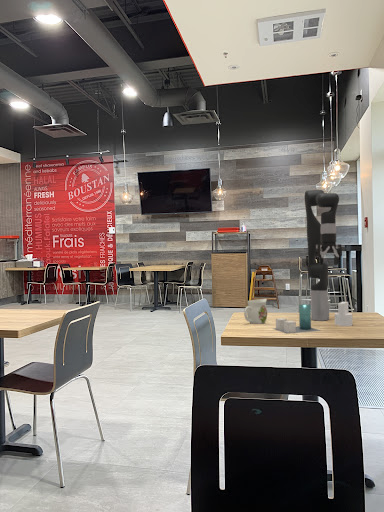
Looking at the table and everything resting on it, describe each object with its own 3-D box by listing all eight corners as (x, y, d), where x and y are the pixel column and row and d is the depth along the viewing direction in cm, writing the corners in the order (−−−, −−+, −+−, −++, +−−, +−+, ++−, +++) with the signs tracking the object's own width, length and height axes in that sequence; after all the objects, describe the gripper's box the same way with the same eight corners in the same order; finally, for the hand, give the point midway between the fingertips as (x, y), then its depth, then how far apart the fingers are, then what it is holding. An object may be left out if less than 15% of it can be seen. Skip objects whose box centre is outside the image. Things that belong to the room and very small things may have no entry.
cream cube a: (291, 330, 208) (291, 320, 208) (295, 332, 204) (295, 321, 204) (284, 331, 206) (283, 321, 206) (288, 332, 203) (288, 322, 202)
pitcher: (237, 326, 231) (237, 301, 231) (259, 322, 243) (258, 298, 242) (252, 328, 223) (252, 302, 222) (274, 324, 234) (274, 299, 234)
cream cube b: (282, 328, 215) (282, 318, 215) (287, 329, 211) (286, 319, 211) (275, 328, 214) (275, 318, 214) (279, 330, 210) (279, 319, 210)
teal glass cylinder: (306, 327, 216) (306, 303, 216) (313, 329, 211) (312, 304, 211) (297, 328, 214) (296, 304, 214) (303, 329, 209) (303, 305, 209)
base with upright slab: (337, 322, 236) (337, 301, 236) (354, 324, 231) (354, 302, 231) (332, 325, 229) (332, 303, 229) (349, 326, 224) (349, 304, 224)
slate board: (304, 328, 220) (304, 325, 220) (321, 333, 207) (321, 330, 207) (272, 331, 214) (272, 328, 214) (286, 336, 201) (286, 333, 201)
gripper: (335, 233, 220) (335, 264, 220) (311, 233, 215) (312, 265, 215) (345, 232, 212) (345, 264, 213) (320, 232, 208) (321, 265, 208)
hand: (328, 265), depth 214 cm, fingers open, 8 cm apart
